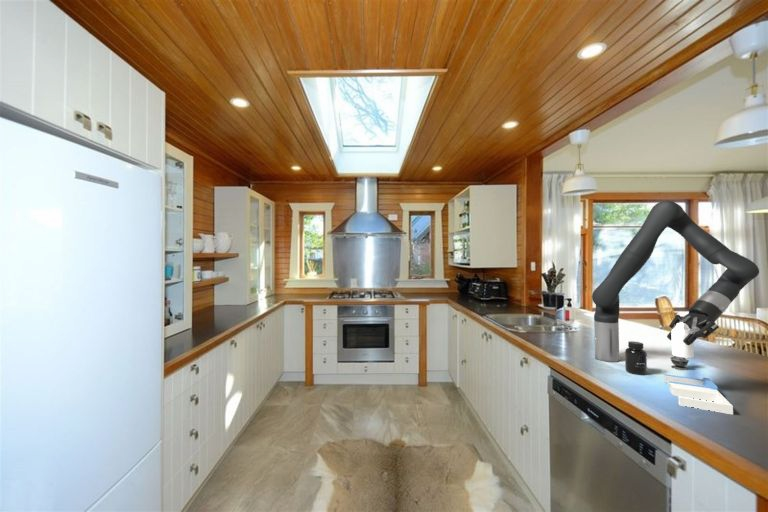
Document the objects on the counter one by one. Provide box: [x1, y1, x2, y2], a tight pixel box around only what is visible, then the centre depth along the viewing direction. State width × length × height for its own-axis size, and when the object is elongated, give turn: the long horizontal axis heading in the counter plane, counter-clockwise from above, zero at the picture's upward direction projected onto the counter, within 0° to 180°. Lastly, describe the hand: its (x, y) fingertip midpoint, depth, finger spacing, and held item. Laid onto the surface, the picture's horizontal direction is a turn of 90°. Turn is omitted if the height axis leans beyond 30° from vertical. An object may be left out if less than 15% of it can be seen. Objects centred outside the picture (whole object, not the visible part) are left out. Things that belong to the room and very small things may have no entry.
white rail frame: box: [663, 374, 734, 415], centre depth 108 cm, size 12×23×4 cm, turn 148°
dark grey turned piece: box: [669, 355, 690, 371], centre depth 135 cm, size 6×6×12 cm
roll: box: [670, 322, 695, 359], centre depth 114 cm, size 6×12×6 cm
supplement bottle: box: [624, 341, 648, 376], centre depth 131 cm, size 7×7×12 cm
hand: (677, 341), depth 114 cm, fingers closed on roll, 5 cm apart
